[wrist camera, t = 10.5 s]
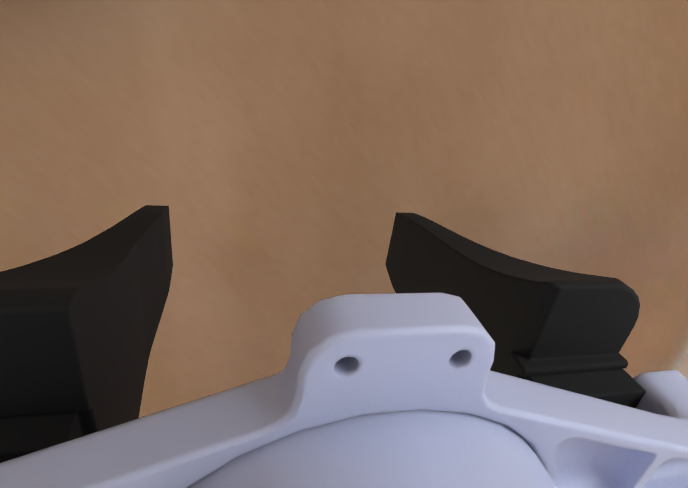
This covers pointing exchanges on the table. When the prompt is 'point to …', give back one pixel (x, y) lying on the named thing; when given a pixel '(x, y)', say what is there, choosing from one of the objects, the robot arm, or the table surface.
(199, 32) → the table surface
